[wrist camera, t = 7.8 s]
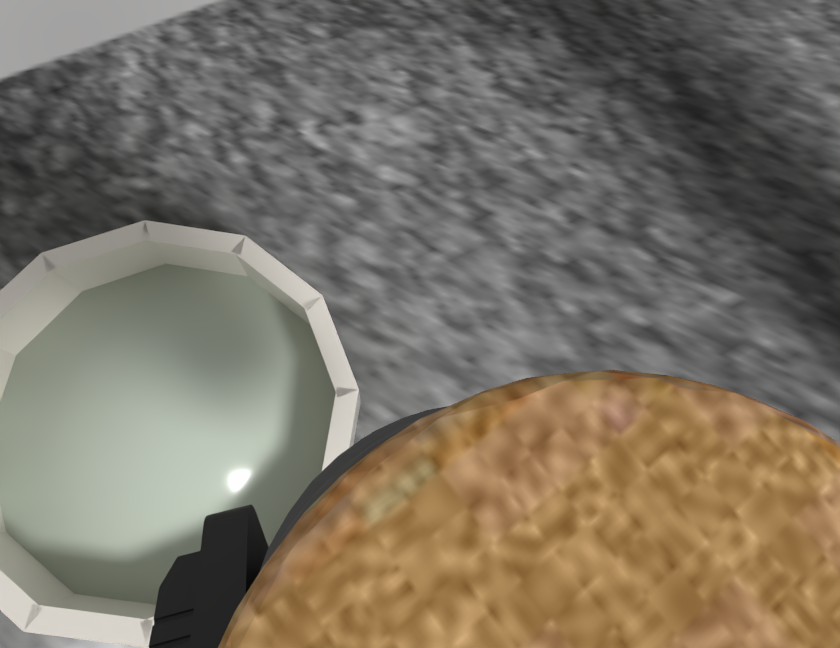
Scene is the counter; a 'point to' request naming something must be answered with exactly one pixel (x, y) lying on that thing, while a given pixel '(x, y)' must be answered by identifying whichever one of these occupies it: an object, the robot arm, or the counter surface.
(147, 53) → the counter surface
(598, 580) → the bottle
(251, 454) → the dish
